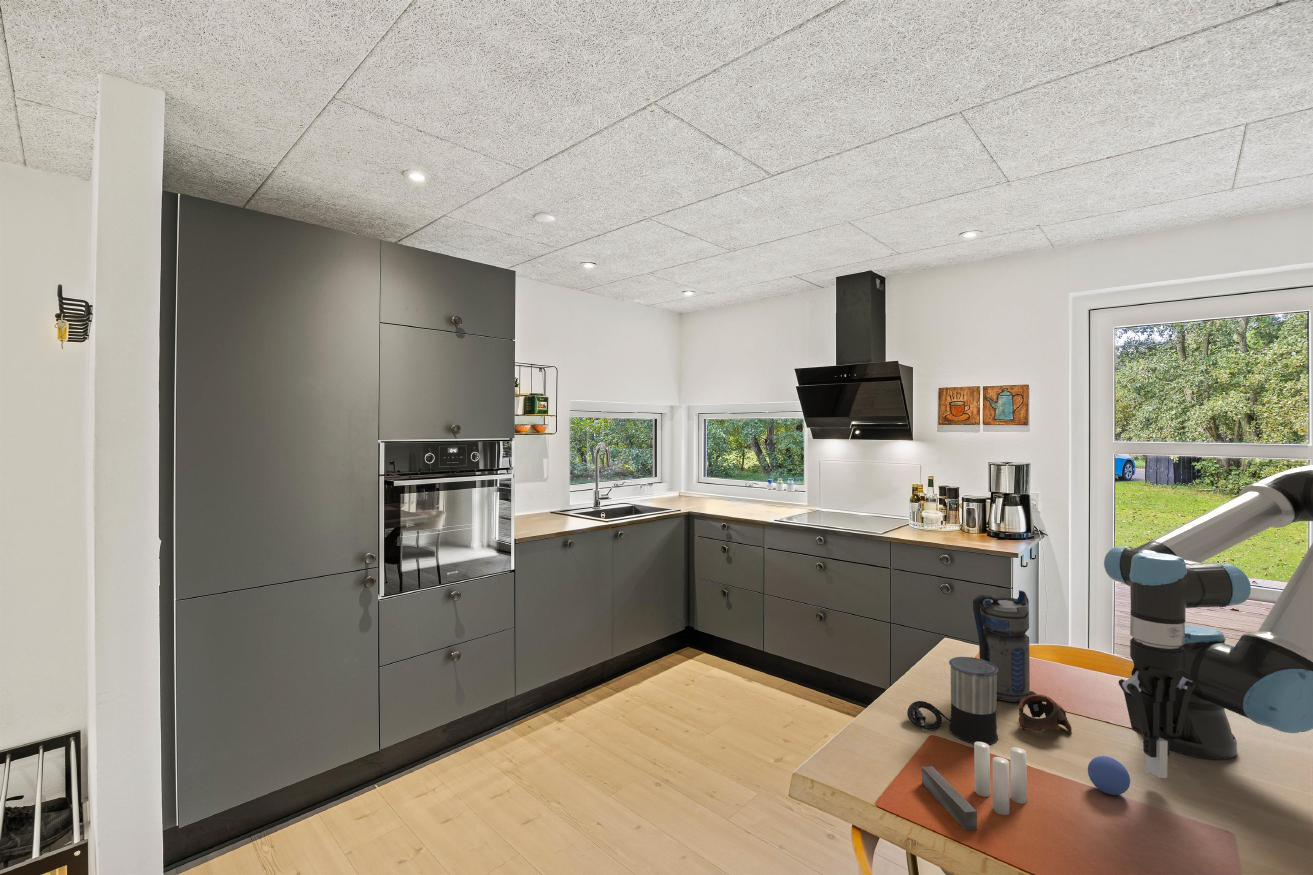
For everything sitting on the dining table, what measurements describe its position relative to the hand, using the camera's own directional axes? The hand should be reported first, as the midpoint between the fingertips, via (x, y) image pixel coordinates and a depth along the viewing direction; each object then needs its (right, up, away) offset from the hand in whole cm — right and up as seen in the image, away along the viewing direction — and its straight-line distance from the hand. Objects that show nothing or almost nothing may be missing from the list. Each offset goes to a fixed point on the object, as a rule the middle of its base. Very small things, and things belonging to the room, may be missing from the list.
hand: (1156, 773), depth 107 cm
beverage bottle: (-6, -2, +38) cm, 38 cm away
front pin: (-26, -3, -2) cm, 26 cm away
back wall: (-39, -3, -4) cm, 39 cm away
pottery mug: (-6, -3, +22) cm, 23 cm away
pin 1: (-31, -3, 0) cm, 31 cm away
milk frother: (-26, -3, +22) cm, 34 cm away
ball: (-9, 0, -1) cm, 9 cm away
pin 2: (-31, -3, -5) cm, 31 cm away
